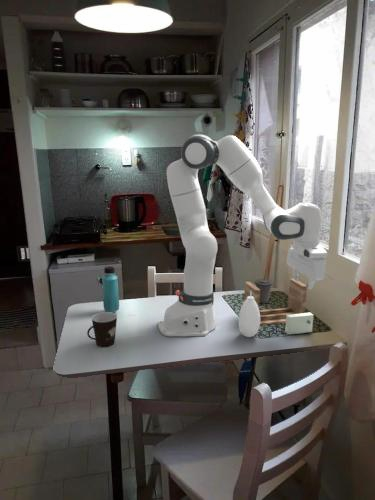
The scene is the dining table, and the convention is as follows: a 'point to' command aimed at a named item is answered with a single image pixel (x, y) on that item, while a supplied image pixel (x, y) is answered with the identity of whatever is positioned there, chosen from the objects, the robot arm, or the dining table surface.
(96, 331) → the coffee mug
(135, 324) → the dining table surface
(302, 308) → the track frame
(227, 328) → the dining table surface
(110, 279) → the beverage bottle
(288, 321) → the door panel
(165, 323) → the robot arm
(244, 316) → the sauce bottle
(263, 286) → the coffee cup
